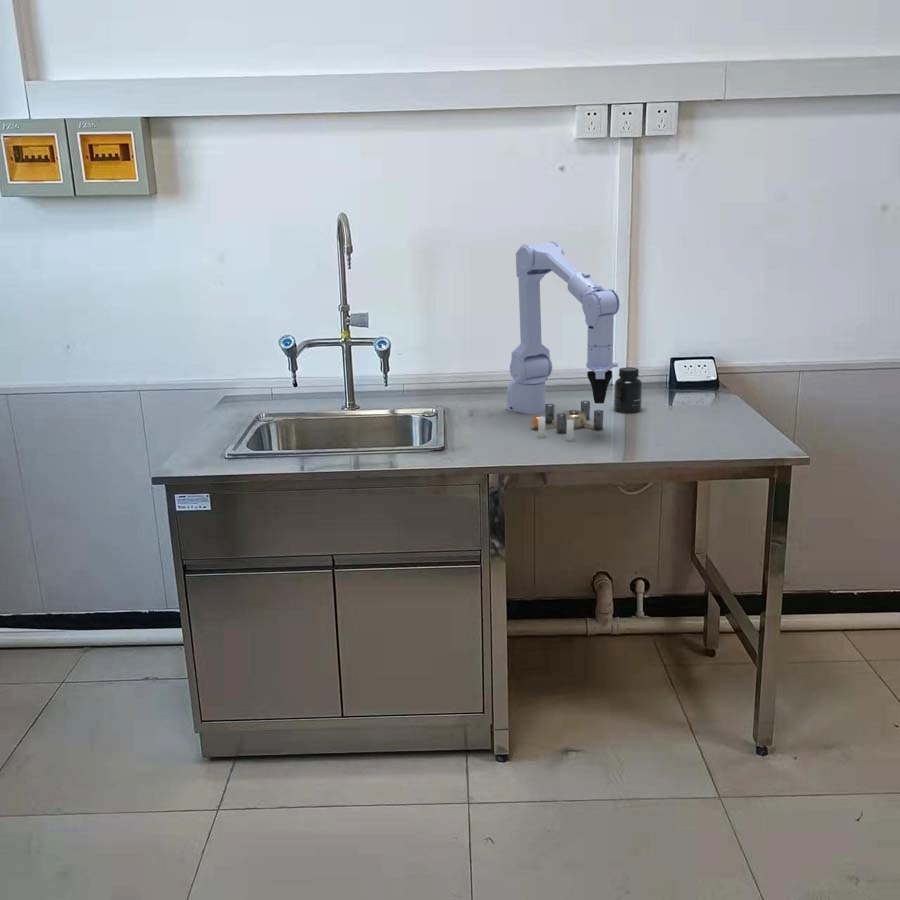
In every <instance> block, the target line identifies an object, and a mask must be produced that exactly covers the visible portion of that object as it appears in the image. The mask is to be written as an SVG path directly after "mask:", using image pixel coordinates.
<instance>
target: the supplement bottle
mask: <svg viewBox="0 0 900 900" xmlns="http://www.w3.org/2000/svg"><path fill="white" fill-rule="evenodd" d="M639 371H640V370H639V368H638V367H621V368H619V370H618V377H619V378H617V379H616V380H615V382H614V398H613V399H614V401H613V411H614V412H616V413H620V414H629V415H631V414H637V413H640V412H641V411H642V397H643V396H642V394H643V393H642V392H643V382H642V381H641V380H640V378H638V377H639V375H640V374H639V373H640V372H639Z"/></svg>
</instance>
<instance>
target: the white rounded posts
mask: <svg viewBox="0 0 900 900" xmlns="http://www.w3.org/2000/svg"><path fill="white" fill-rule="evenodd" d="M540 416H541V415H540ZM545 424H546V423H545V416H544V415H543V416H541V417H538V429H537V431H538V433H537V434H538V436H537V437H538V438H540V439H543V438H546V429H545ZM574 433H575V429H574V420H571V419H570V420H567V431H566V442H574V440H575V439H574V438H575V437H574Z"/></svg>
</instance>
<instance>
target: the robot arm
mask: <svg viewBox="0 0 900 900" xmlns="http://www.w3.org/2000/svg"><path fill="white" fill-rule="evenodd" d="M515 264H516V265H515V267H516V268H515V270H516V272H515V273H516V277H517V278H518V302H519V304H518V305H519V306H518V307H519V330H520V331H519V333H520V337H519V338H520V344H519V345H518V346H517V347H516V348H514V350H513V351H512V352H511V361H510V364H509V373H510V376H511V377H512V378H511V379H512V380H510V382H509V383H508V386H507V390H506V406H507V407H506V408H507V411H510V412H515V413H516V412H517V413H521V414H526V415H528V414H530V415H533V414H541V413H545V405H546V382H547V381H548V380H549V379H548V378H549V377H550V376H551V375H552V372H553V362H552V359H551V354H550V349H549V348H548V347H547V346H545V345H544V344H543V343H542V319H541V318H542V317H541V316H542V315H541V313H542V311H541V284H540V283H541V281H542V279H543V278H544V277H545V276H546V275H548V274H549V273H551V272H552V273H554V274H555V275H557V276H558V277H559V278H561V280H563V281H564V282H565V283H567V290H568V292H569V293H570V294H571V295H572V296H573V298H575V299H576V300H577V301H578V302H579V303H580V304H581V308H582V311H583V314H584V317H585V324H586V326H587V345H586V346H587V348H586V350H587V354H586V355H587V358H586V359H587V360H586V361H587V362H586V365H585V367H586V368H587V369H588V370H589V371H587V373H586V374H587V379H588V381H589V383H590V386H591V389H592V390H591V391H592V397H593V401H594V404H604V403H605V400H606V397H607V396H606V395H607V391H608V387H609V384H610V382H611V379H612V378H613V370H611V369H614V368H618V367H619V363H618V362H614V361H613V360H614V358H613V357H614V356H613V355H614V316H615V315H616V314H617V313H618V311H619V309H620V297H619V295H618V294H617V292H616V291H615V290H614V289H613V288H609V289H607V288H603V287H602V285H601V284H599V283H598V282H597V281H596V280H595V279H594V278H593V277H592V276H591V274H590V273H589V272H588V271H578V270H577V269H576V268H575V266H574V265H573V264H572V263H571V262H570V261H569V260H568V258H567V257H566V256H565V252H564V248H563V247H562V246H561V245H559V243H558V242H555V241H551V242H546V243H535V244H527V243H526V244H525V243H524V244H521V246H520V247H519V248H518V250H517V251H516V252H515Z"/></svg>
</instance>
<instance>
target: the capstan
mask: <svg viewBox="0 0 900 900" xmlns="http://www.w3.org/2000/svg"><path fill="white" fill-rule="evenodd" d="M590 410H591V402H590V400H581V401H580V410H578V409H570V410H565V411H564V410H563V411H562V412H559V413H556V418H555V404H554V403H545V411H544V417H545V430H547V429H554V428H555V429H556V433H557V434H560V435H561V434H567V420H570V419H571V420H574V430H578V429H591V430H595V431H603V430H604V410H601V409H596V410H594V411H593V423H587V421H588V420H590V418H591V416H590V415H591V413H590V412H591V411H590ZM538 417H541V415H535V416H534V417H532V419H531V425H532V427H534V428H535V429H536V430H538Z"/></svg>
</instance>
